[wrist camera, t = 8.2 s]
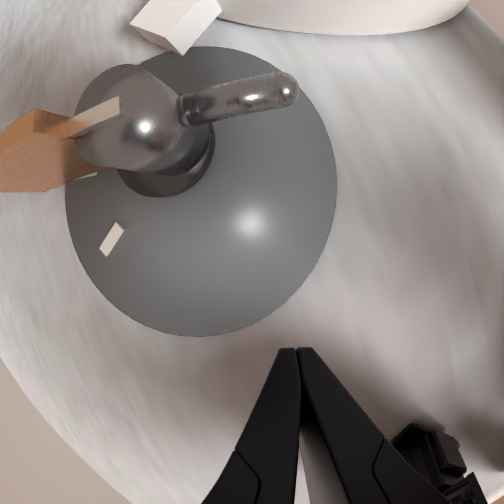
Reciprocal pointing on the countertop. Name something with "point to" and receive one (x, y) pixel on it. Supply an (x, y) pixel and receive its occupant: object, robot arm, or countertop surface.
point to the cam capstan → (133, 132)
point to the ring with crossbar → (289, 17)
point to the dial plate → (213, 213)
